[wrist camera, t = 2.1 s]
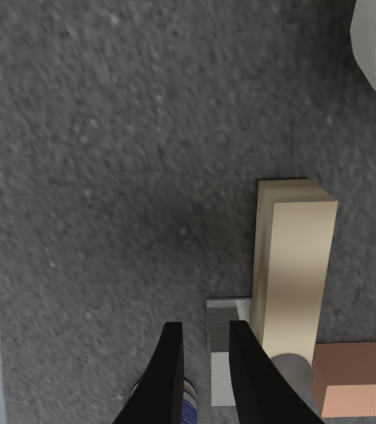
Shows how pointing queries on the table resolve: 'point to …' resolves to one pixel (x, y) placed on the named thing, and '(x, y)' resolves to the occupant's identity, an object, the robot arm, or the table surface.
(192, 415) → the pill bottle
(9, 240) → the table surface
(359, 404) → the block
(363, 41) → the cup
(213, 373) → the hinge bracket
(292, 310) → the birch leg
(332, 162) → the table surface
